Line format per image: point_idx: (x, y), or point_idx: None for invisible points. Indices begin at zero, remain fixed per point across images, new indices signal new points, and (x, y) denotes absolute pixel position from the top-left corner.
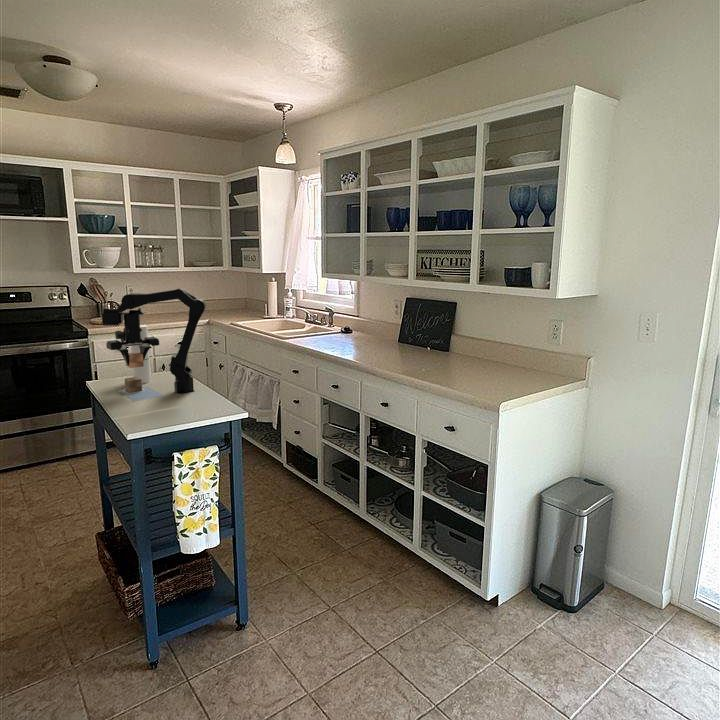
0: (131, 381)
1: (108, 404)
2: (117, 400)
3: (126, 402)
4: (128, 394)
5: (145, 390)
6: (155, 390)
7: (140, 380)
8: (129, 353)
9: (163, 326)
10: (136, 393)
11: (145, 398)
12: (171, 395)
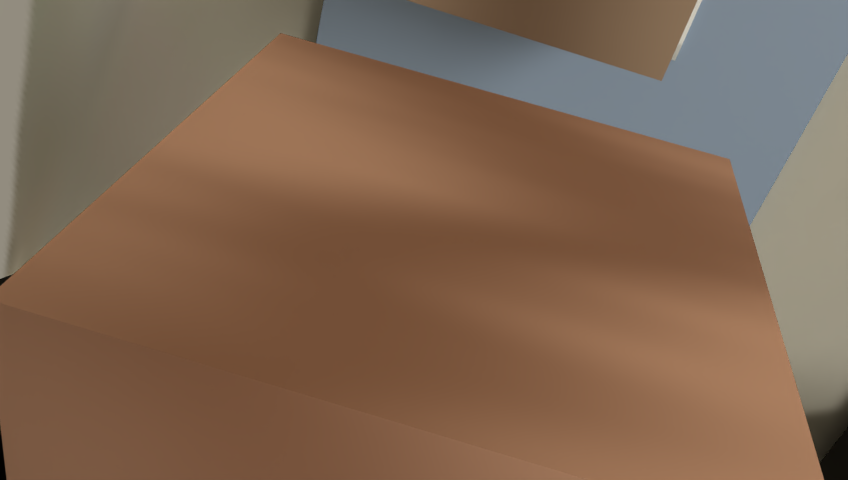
0: (454, 10)
1: (36, 130)
2: (177, 70)
3: None
4: (382, 7)
5: (703, 26)
6: (783, 162)
7: (639, 67)
8: (194, 460)
9: None
10: (492, 60)
11: None
12: None
